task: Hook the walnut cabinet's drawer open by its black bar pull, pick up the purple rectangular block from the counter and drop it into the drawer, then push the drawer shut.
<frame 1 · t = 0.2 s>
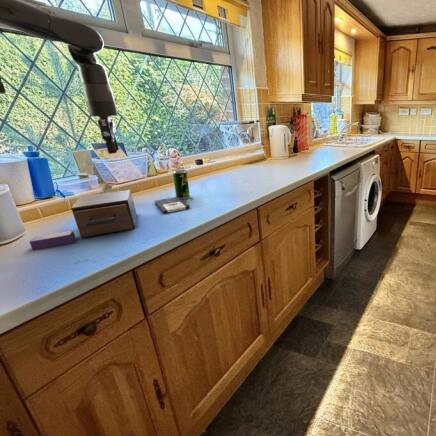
hand: (114, 152, 101), 23 cm above the countertop, tool pointing down, fingers open, 8 cm apart
purple rectangular block: (55, 244, 88), on the countertop
cabinet: (111, 225, 101), on the countertop
beer can: (183, 198, 130), on the countertop, touching chocolate bar
drawer: (105, 216, 95), point 5 cm above the countertop, slide at 1.0 cm
chocolate bunny: (113, 206, 122), on the countertop
chocolate bar: (172, 205, 120), on the countertop, touching beer can
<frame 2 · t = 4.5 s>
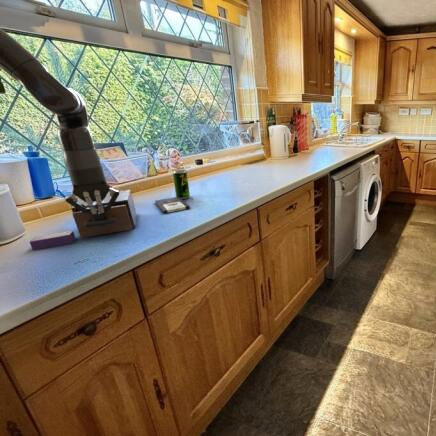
hand: (102, 224, 88), 5 cm above the countertop, tool pointing down, fingers closed
drawer: (105, 217, 94), point 5 cm above the countertop, slide at 2.1 cm, touching gripper
everything else where it was.
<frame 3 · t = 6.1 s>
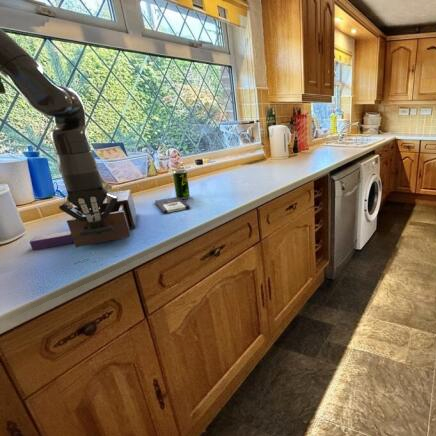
hand: (99, 233, 82), 4 cm above the countertop, tool pointing down, fingers closed
drawer: (102, 223, 88), point 5 cm above the countertop, slide at 9.2 cm, touching gripper
everything else where it was.
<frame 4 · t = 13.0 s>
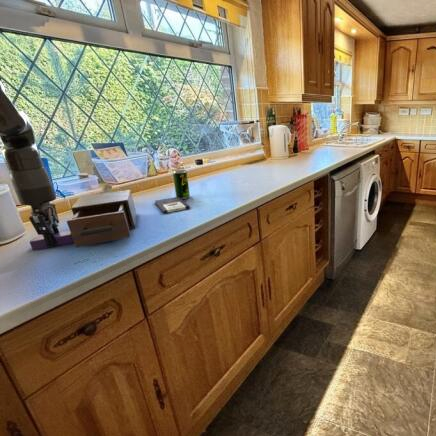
hand: (54, 242, 87), 0 cm above the countertop, tool pointing down, fingers closed on purple rectangular block, 4 cm apart
purple rectangular block: (55, 244, 87), on the countertop, touching gripper
drawer: (102, 224, 88), point 5 cm above the countertop, slide at 9.4 cm
everything else where it was.
when the fingers open (6 cm above the countertop, at t = 18.9 s): purple rectangular block drops 4 cm, resting on drawer.
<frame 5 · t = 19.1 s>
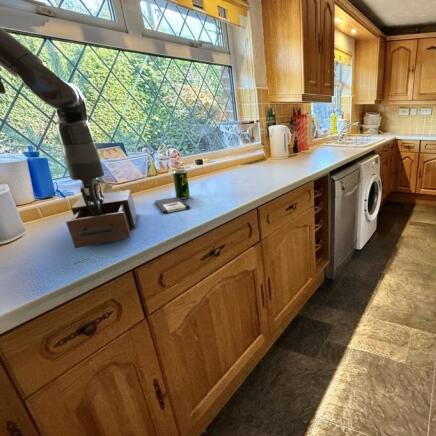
hand: (100, 218, 88), 6 cm above the countertop, tool pointing down, fingers open, 5 cm apart
purple rectangular block: (105, 232, 89), point 2 cm above the countertop, touching drawer
drawer: (102, 224, 87), point 5 cm above the countertop, slide at 10.0 cm, touching purple rectangular block
everything else where it was.
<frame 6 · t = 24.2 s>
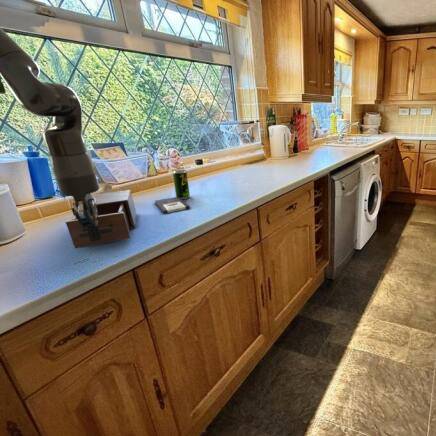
hand: (96, 239, 78), 4 cm above the countertop, tool pointing down, fingers closed
drawer: (101, 225, 87), point 5 cm above the countertop, slide at 10.4 cm, touching gripper, purple rectangular block
everything else where it was.
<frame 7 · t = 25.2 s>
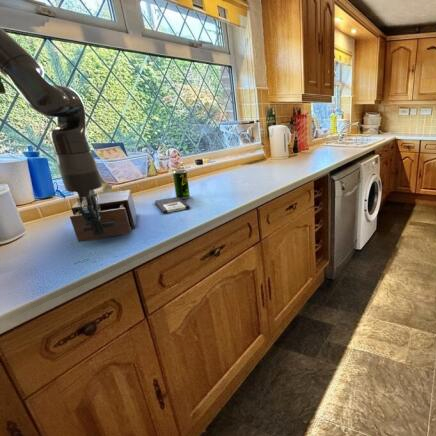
hand: (99, 233, 82), 4 cm above the countertop, tool pointing down, fingers closed
purple rectangular block: (107, 227, 93), point 2 cm above the countertop, touching drawer
drawer: (104, 220, 91), point 5 cm above the countertop, slide at 5.5 cm, touching gripper, purple rectangular block
everything else where it was.
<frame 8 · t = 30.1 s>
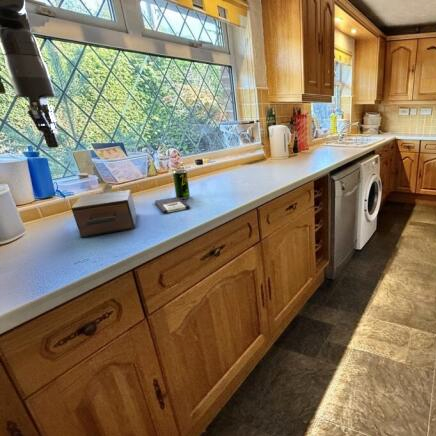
hand: (53, 147, 81), 27 cm above the countertop, tool pointing down, fingers closed
purple rectangular block: (109, 222, 97), point 2 cm above the countertop, touching drawer
drawer: (106, 215, 96), point 5 cm above the countertop, slide at 0.0 cm, touching cabinet, purple rectangular block
everything else where it was.
at the end: purple rectangular block inside the target area in the cabinet (3.1 cm from its centre), point 2.0 cm above the cabinet's base; drawer slide at 0.0 cm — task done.
